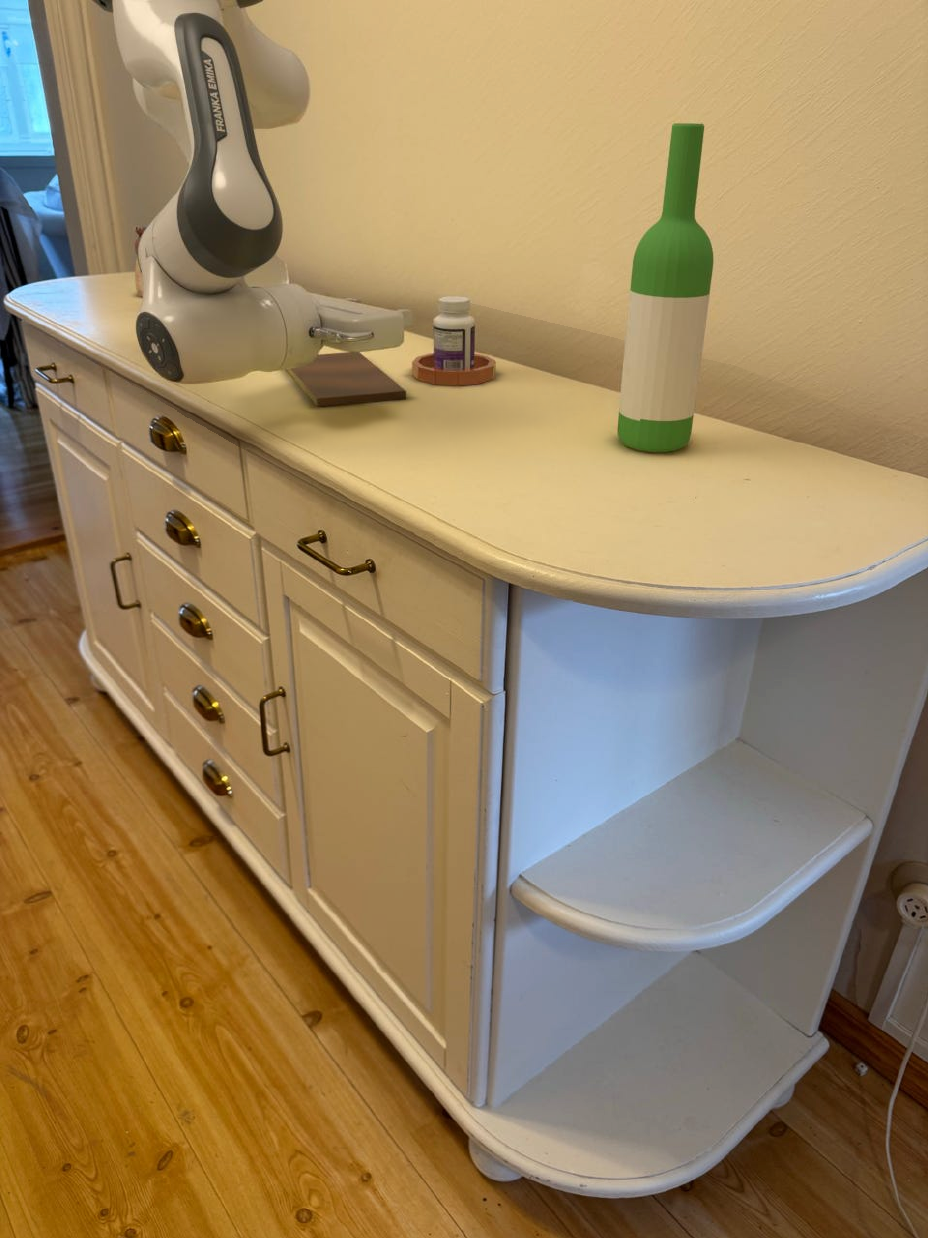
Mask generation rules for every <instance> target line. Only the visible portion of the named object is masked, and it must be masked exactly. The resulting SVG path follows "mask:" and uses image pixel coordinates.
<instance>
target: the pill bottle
mask: <svg viewBox="0 0 928 1238" xmlns="http://www.w3.org/2000/svg"><path fill="white" fill-rule="evenodd" d="M470 308H471V300H470V298H469V297H466V296H459V295H458V296H456V295H453V296H442V297H440V298H438V311H439V312H440V313H439V314H438V315H436V316H435V317H434V319H433V353H434V369H440V370H467V369H475V368H474V356H475V354H476V352H475V349H476V348H475V346H476V345H475V343H476V323H475V322H476V321H475V318H474V317H473V316H472V315H470V314H469V311H470V310H471V309H470Z"/></svg>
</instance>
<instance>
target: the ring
mask: <svg viewBox="0 0 928 1238" xmlns="http://www.w3.org/2000/svg"><path fill="white" fill-rule="evenodd" d="M496 366H497V361H496V360H495V359H493V358H492V357H490V356H488V355H484V354H481V353H475V356H474V369H467V370H440V369H434V352H430V353H426V354H423V355H422V354H421V355H418V356H416V357H415V358H414V359H413V360H412V362H411V376H412V377H413V378H414V379H416V380H417V381H419V382H421V383H427V384H431V385H437V386H451V387H452V386H453V387H456V386H458V387H461V386H471V385H480V384H483V383H487V382H491V381H492V380H494V378H495V377H496V373H497V371H496V369H497V367H496Z"/></svg>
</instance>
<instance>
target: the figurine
mask: <svg viewBox="0 0 928 1238" xmlns="http://www.w3.org/2000/svg"><path fill="white" fill-rule="evenodd" d="M148 226H149V225H145V226H143V227H142V228H141V227H140V226H135V227H134V231H135V233H136V234H137V236H138V237H137V239H136V240H135V242H134V250H135V251H134V252H135V253H136V254H137V250H138V244H139V240H140V238H141V236H142V234H143V233H144V231H145V230H146V228H147V227H148ZM134 271H135V272H134V277H135V279H134V281H135V288H136V293H137V295H138V297H141V298H143V277H142V273H141V270H140V267H139V263H138V257H137V256H136V261H135V270H134Z"/></svg>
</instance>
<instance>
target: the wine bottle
mask: <svg viewBox="0 0 928 1238" xmlns="http://www.w3.org/2000/svg"><path fill="white" fill-rule="evenodd" d="M670 131H671V133H670V139H669V140H670V141H669V149H668V150H669V151H668V159H667V168H666V176H665V187H664V197H663V204H662V212H661V216H660V218H659V219H658V220H657V221H656V223H654V224H653V225H651V226H650V227H649V229H647V230H646V231H645V233H644V234H643V235H642V237H641V238H640V240H639V242H638V244H637V246H636V248H635V252H634V255H633V260H632V266H631V267H632V268H631V278H630V288H629V296H628V297H629V298H628V306H627V307H628V309H627V319H626V328H625V329H626V331H625V339H624V351H623V361H622V372H621V384H620V393H619V403H618V404H619V405H618V418H617V427H616V428H617V429H616V431H617V432H616V433H617V437H618V439H619V440H620V442H621V444H623V445H624V446H626V447H628V448H631V449H633V450H636V451H640V452H646V453H647V452H648V453H671V452H675V451H678V450H681V449H683V448H684V447H686V446H687V444H688V443H689V442H690V440H691V437H692V432H693V424H694V417H695V410H696V404H697V403H696V402H697V397H698V395H697V394H698V388H699V387H698V386H699V380H700V373H701V365H702V356H703V348H704V343H705V342H704V341H705V334H706V326H707V319H708V312H709V311H708V310H709V304H710V303H709V302H710V294H711V287H712V277H713V271H714V250H713V246H712V242H711V240H710V237H709V236H708V235H709V234H707V232H706V231H705V230H704V228H703V227H702V226H701V225H700V224H699V223H698V222H697V219H696V204H697V196H698V186H699V179H700V178H699V177H700V169H701V161H702V151H703V143H704V134H705V124H704V123H693V122H691V123H689V122H687V123H686V122H683V123H682V122H677V123H675V122H674V123H672V125H671V130H670Z"/></svg>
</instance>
